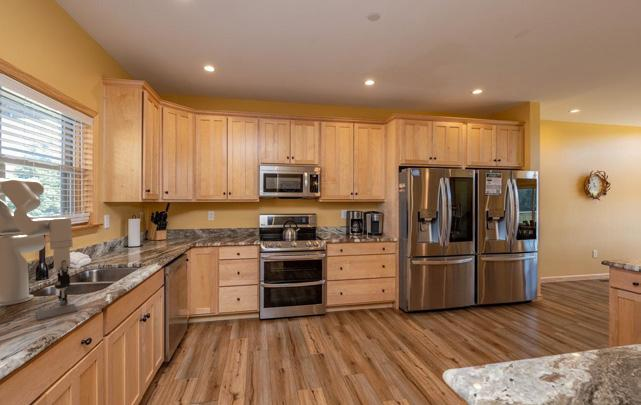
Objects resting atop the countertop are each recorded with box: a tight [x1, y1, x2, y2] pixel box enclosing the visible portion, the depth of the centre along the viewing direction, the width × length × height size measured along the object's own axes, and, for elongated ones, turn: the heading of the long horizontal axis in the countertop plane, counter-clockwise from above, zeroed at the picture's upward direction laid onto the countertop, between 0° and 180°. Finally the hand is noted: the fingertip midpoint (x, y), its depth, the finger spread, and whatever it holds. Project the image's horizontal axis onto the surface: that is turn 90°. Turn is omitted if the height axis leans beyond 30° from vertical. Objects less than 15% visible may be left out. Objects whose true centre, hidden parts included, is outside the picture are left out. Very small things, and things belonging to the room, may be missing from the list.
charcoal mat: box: [35, 303, 79, 322], centre depth 117 cm, size 12×12×1 cm
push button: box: [54, 281, 71, 306], centre depth 128 cm, size 7×5×10 cm
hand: (63, 282), depth 127 cm, fingers open, 9 cm apart
